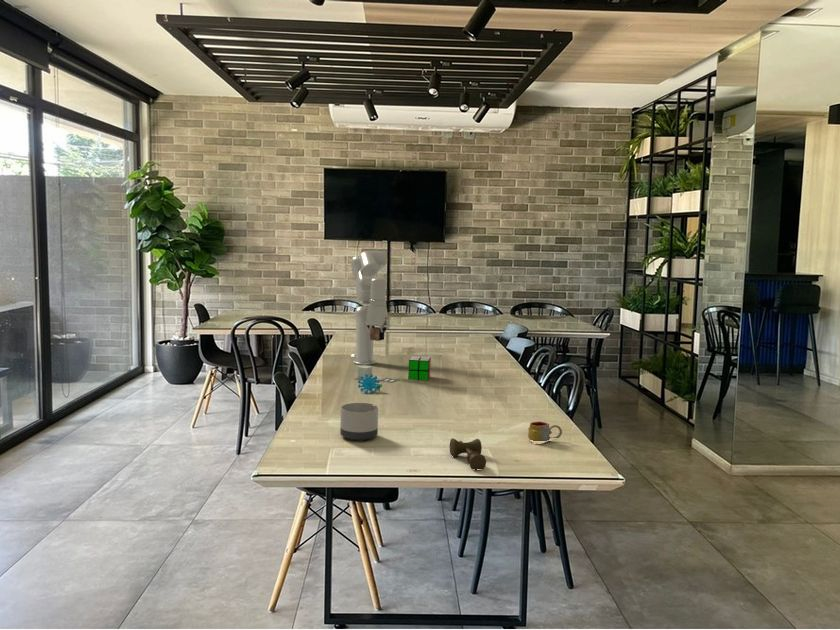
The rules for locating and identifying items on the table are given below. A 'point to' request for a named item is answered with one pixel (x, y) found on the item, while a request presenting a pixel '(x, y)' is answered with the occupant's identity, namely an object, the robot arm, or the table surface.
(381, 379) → the coaster
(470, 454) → the kendama
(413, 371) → the puzzle cube
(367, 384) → the blue spiky virus model
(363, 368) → the pale grey-green block
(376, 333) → the walnut block
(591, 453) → the table surface
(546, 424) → the mug
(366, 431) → the planter
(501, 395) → the table surface
